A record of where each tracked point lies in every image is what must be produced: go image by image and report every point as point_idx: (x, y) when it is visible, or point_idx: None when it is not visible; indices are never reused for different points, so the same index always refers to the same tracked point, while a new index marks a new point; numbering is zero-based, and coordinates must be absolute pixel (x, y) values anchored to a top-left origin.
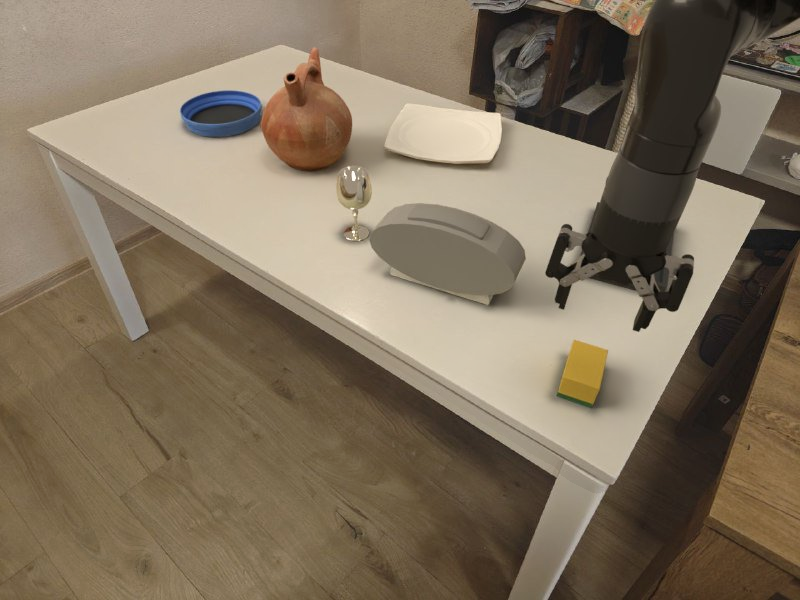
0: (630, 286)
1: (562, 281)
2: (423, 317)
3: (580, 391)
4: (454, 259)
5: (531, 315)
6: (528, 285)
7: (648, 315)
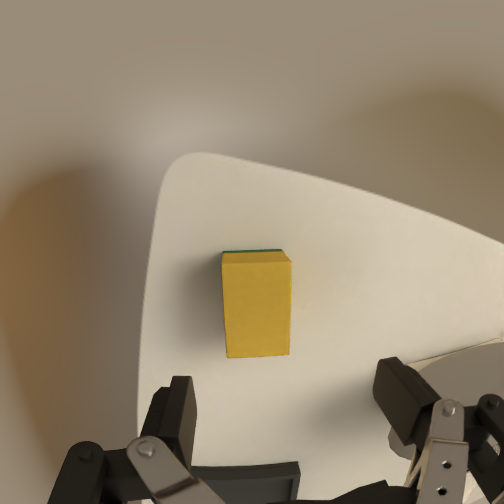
0: (224, 469)
1: (456, 406)
2: (468, 298)
3: (250, 257)
4: (483, 382)
5: (345, 380)
6: (354, 421)
7: (158, 422)
